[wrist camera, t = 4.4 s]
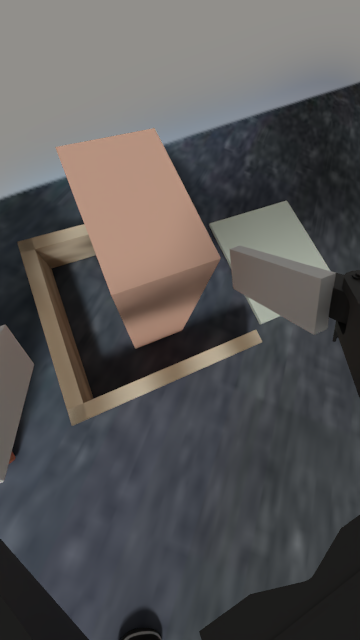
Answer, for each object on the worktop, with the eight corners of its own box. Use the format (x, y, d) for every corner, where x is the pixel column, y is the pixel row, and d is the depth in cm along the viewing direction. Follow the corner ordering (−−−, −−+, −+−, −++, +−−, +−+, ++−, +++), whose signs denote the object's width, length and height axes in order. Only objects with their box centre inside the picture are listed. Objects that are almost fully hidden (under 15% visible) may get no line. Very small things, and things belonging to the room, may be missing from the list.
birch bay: (183, 219, 27) (188, 196, 24) (247, 348, 24) (262, 341, 21) (36, 262, 24) (17, 241, 21) (85, 419, 20) (71, 426, 17)
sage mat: (285, 202, 30) (286, 200, 29) (339, 291, 27) (342, 289, 27) (209, 225, 28) (209, 223, 27) (259, 324, 25) (261, 323, 24)
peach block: (153, 264, 25) (154, 128, 12) (182, 330, 24) (220, 258, 10) (108, 278, 24) (55, 147, 11) (135, 349, 23) (111, 295, 9)
